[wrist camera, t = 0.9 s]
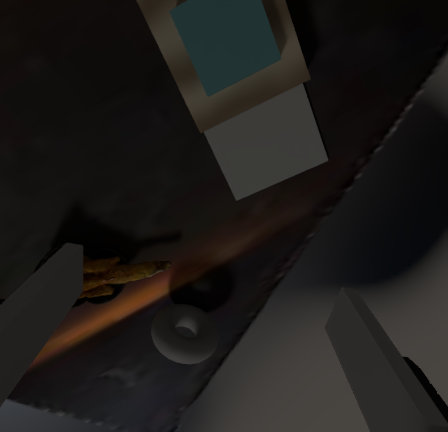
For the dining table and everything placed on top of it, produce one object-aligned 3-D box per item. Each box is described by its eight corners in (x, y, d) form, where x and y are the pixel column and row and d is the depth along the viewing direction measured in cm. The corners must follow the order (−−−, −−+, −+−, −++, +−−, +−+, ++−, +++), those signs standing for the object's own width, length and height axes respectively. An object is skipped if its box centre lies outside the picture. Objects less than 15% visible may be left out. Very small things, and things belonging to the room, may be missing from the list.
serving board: (145, 9, 31) (134, -4, 27) (255, -56, 29) (259, -79, 25) (203, 130, 36) (200, 133, 32) (301, 81, 34) (310, 79, 30)
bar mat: (203, 131, 36) (203, 131, 35) (301, 83, 34) (302, 83, 33) (236, 199, 39) (236, 200, 39) (327, 159, 37) (328, 160, 37)
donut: (222, 308, 46) (221, 360, 37) (215, 324, 47) (212, 378, 38) (162, 291, 45) (146, 340, 36) (157, 307, 46) (139, 359, 37)
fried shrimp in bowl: (5, 255, 37) (102, 234, 30) (79, 242, 47) (165, 224, 40) (18, 323, 37) (118, 320, 30) (89, 296, 47) (178, 288, 40)
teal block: (172, 17, 28) (168, 11, 26) (247, -26, 27) (248, -36, 25) (208, 97, 31) (207, 96, 29) (278, 61, 29) (281, 58, 27)
